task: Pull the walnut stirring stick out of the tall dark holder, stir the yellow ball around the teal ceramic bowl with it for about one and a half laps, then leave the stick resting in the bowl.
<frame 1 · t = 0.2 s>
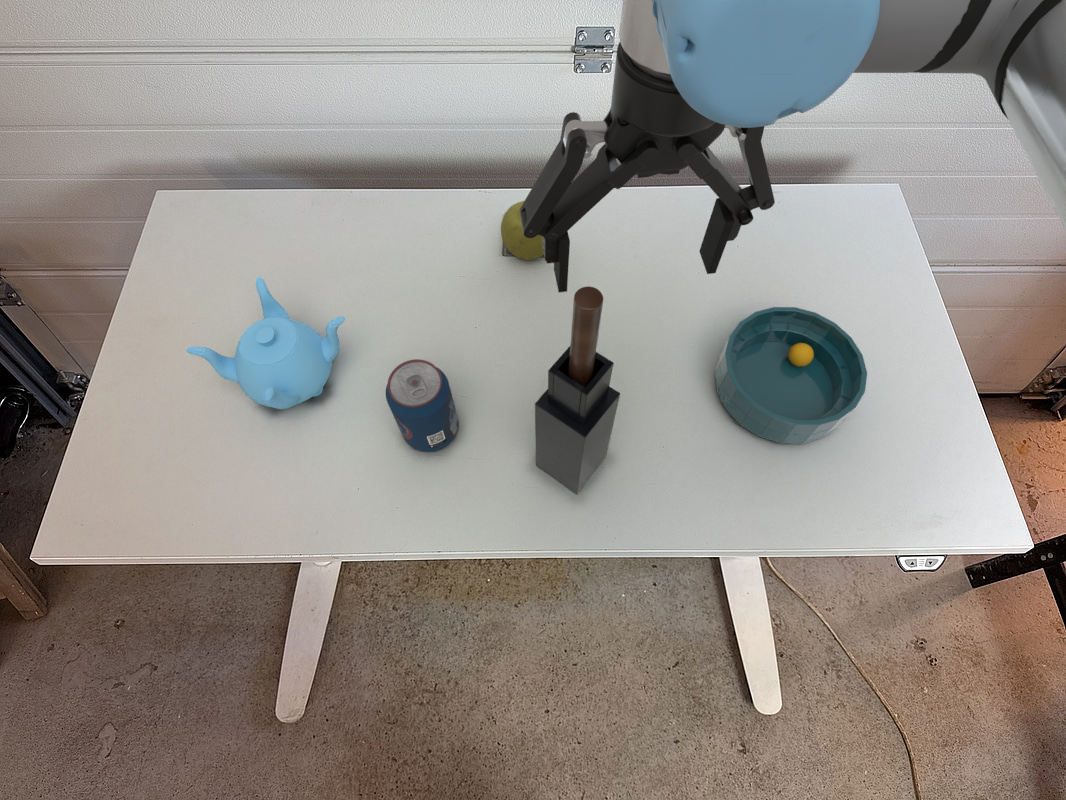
hand: (634, 271, 58), 25 cm above the table, tool pointing down, fingers open, 13 cm apart
stick: (577, 398, 62), point 16 cm above the table, touching holder
ball: (800, 354, 80), point 2 cm above the table, touching bowl
bowl: (778, 387, 80), on the table
apple: (529, 250, 91), on the table
soda can: (432, 431, 78), on the table
holder: (570, 461, 76), on the table
teapot: (296, 378, 82), on the table
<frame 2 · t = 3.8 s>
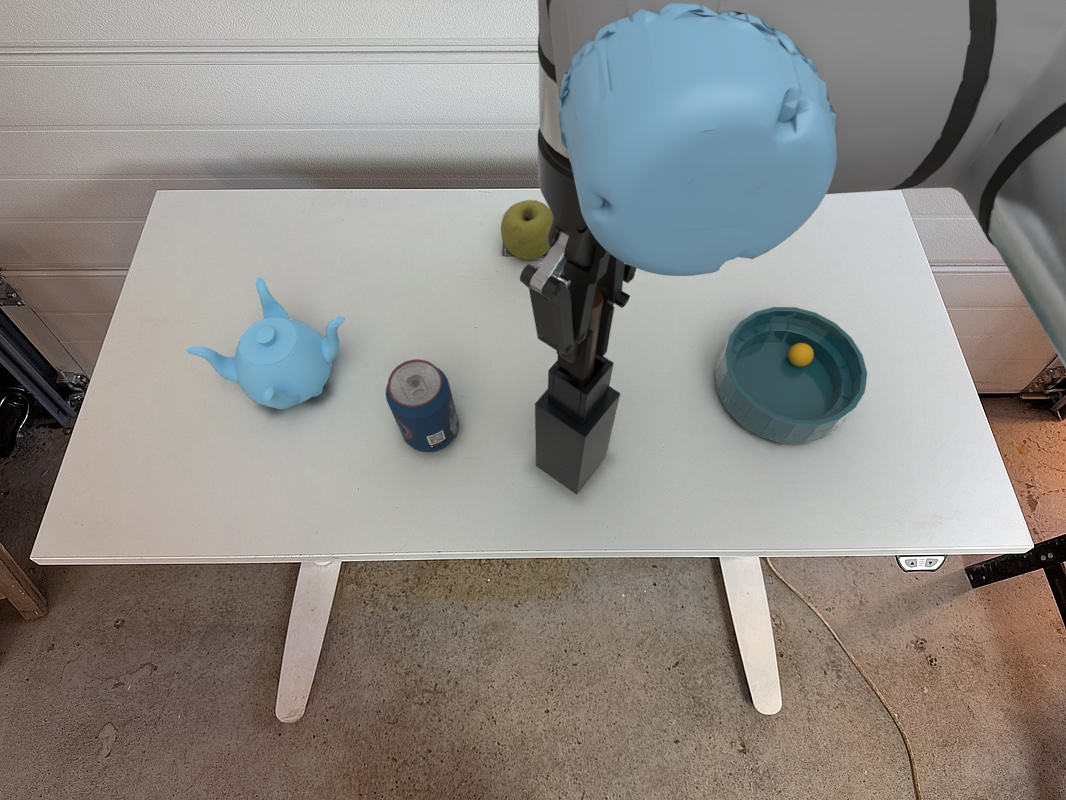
hand: (582, 357, 55), 23 cm above the table, tool pointing down, fingers closed on stick, 2 cm apart
stick: (577, 398, 62), point 16 cm above the table, touching gripper, holder
everything else where it was.
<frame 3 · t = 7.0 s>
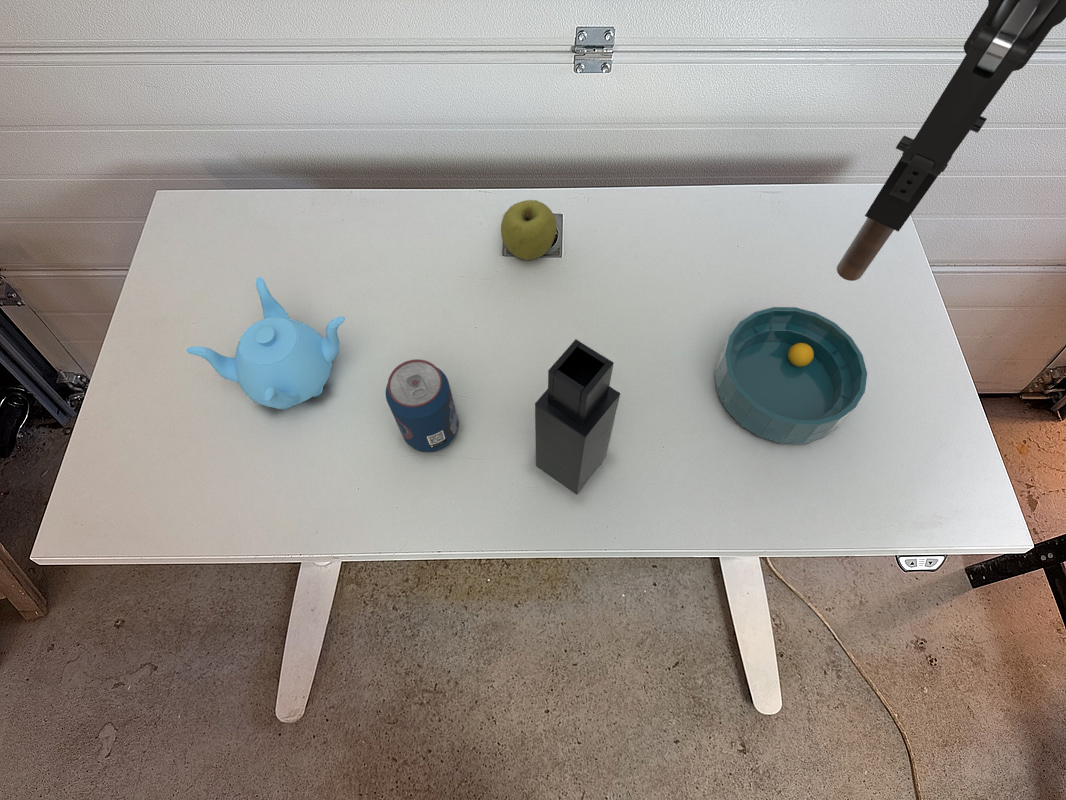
hand: (891, 209, 49), 34 cm above the table, tool pointing down, fingers closed on stick, 2 cm apart
stick: (849, 271, 56), point 26 cm above the table, touching gripper
everything else where it was.
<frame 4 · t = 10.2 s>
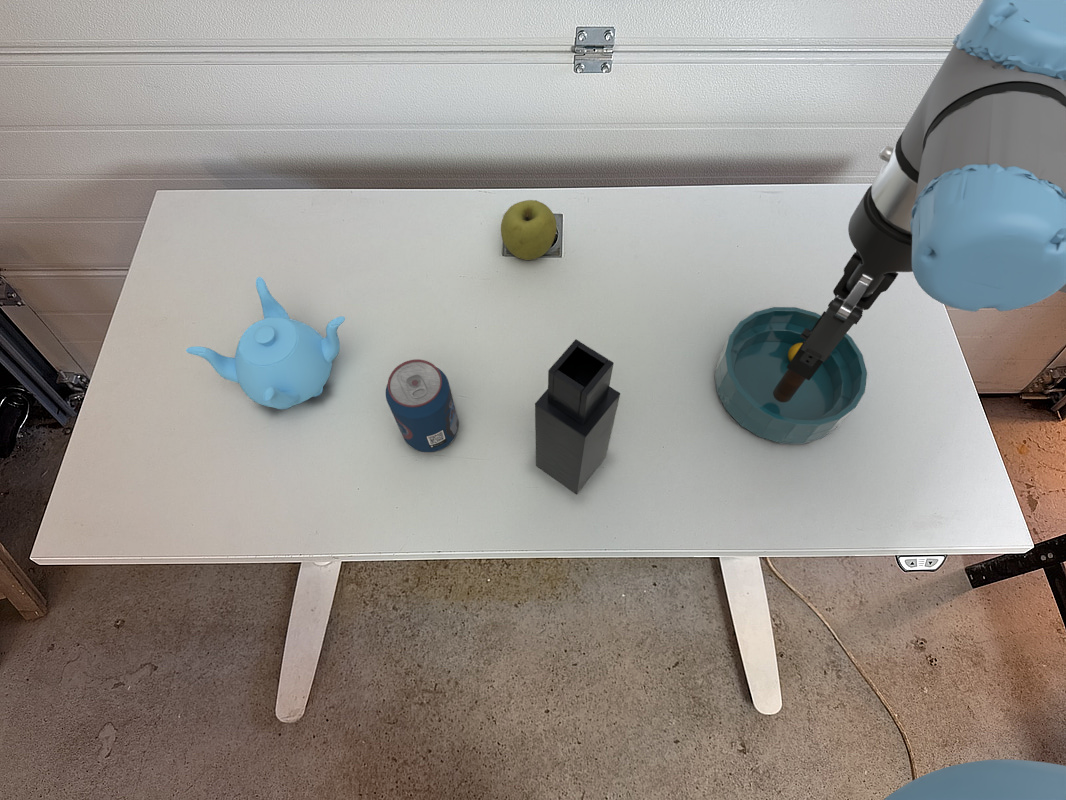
hand: (805, 362, 70), 10 cm above the table, tool pointing down, fingers closed on stick, 2 cm apart
stick: (782, 394, 76), point 3 cm above the table, touching gripper
everything else where it was.
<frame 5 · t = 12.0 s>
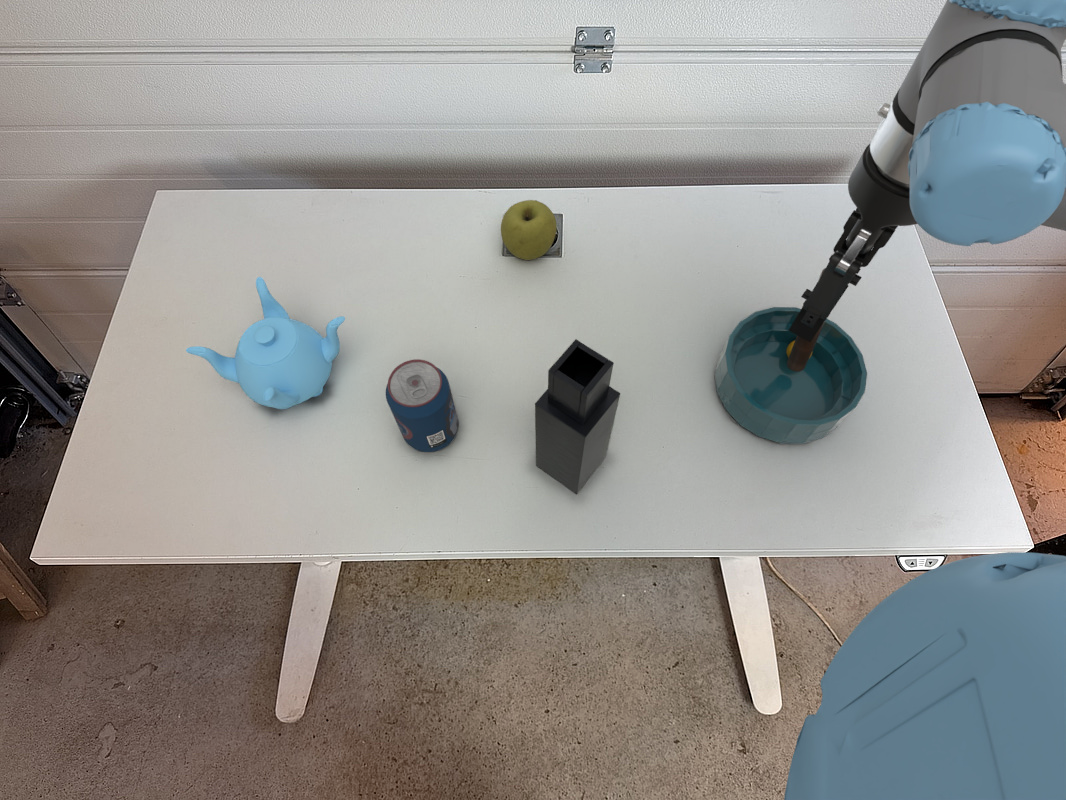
hand: (806, 325, 72), 10 cm above the table, tool pointing down, fingers closed on stick, 2 cm apart
stick: (795, 364, 78), point 3 cm above the table, tilted 7°, touching gripper
ball: (799, 351, 80), point 2 cm above the table, tilted 20°, touching bowl
everything else where it was.
when the fingers open (8 cm above the table, at t = 16.6 s): stick stays where it is, resting on bowl.
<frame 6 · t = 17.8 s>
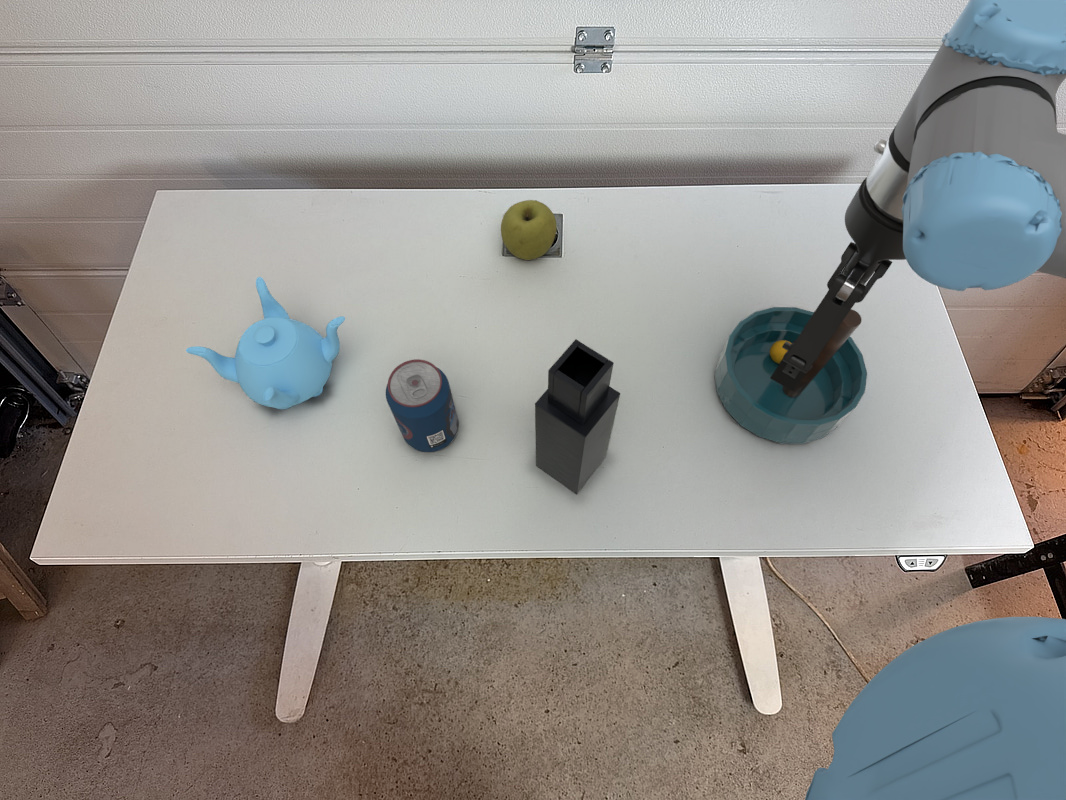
hand: (811, 340, 70), 11 cm above the table, tool pointing down, fingers open, 13 cm apart
stick: (791, 390, 79), point 1 cm above the table, touching bowl
ball: (782, 352, 80), point 2 cm above the table, tilted 76°, touching bowl
everything else where it was.
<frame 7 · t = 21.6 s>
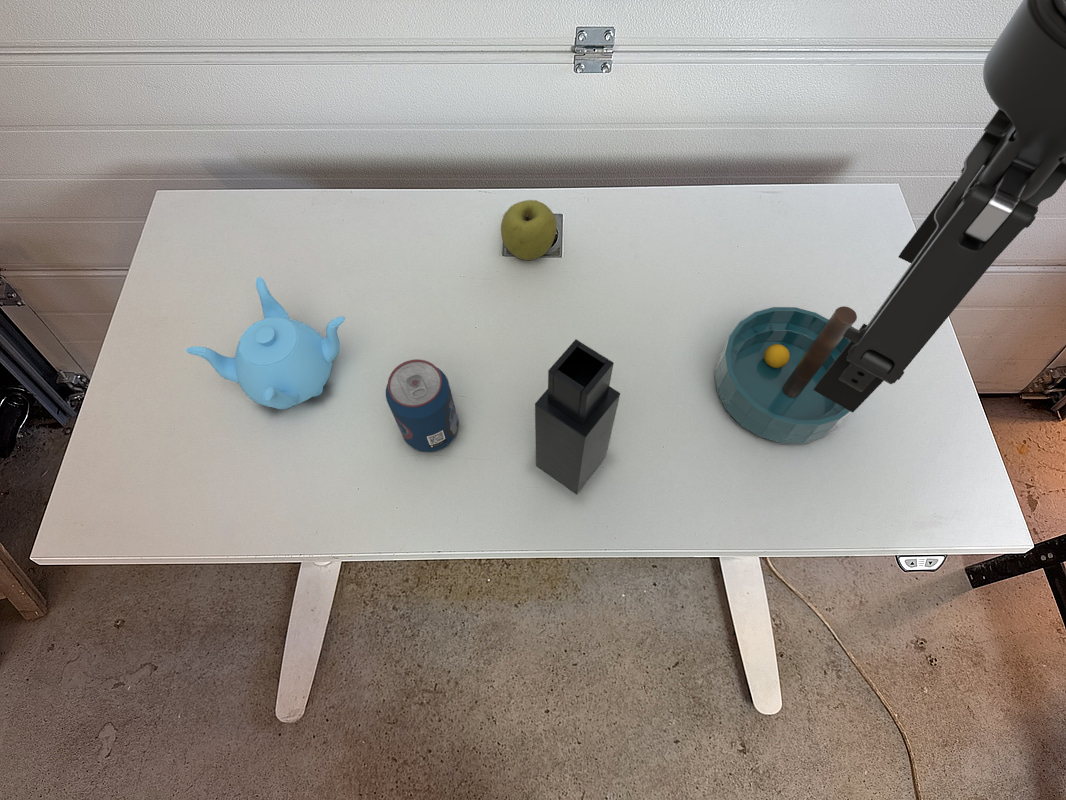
hand: (878, 326, 43), 35 cm above the table, tool pointing down, fingers open, 13 cm apart
ball: (776, 356, 80), point 2 cm above the table, tilted 93°, touching bowl
everything else where it was.
at the end: stick inside the target area in the bowl (1.4 cm from its centre), point 0.8 cm above the bowl's base; ball moved 3.1 cm from its start; the gripper is holding nothing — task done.
